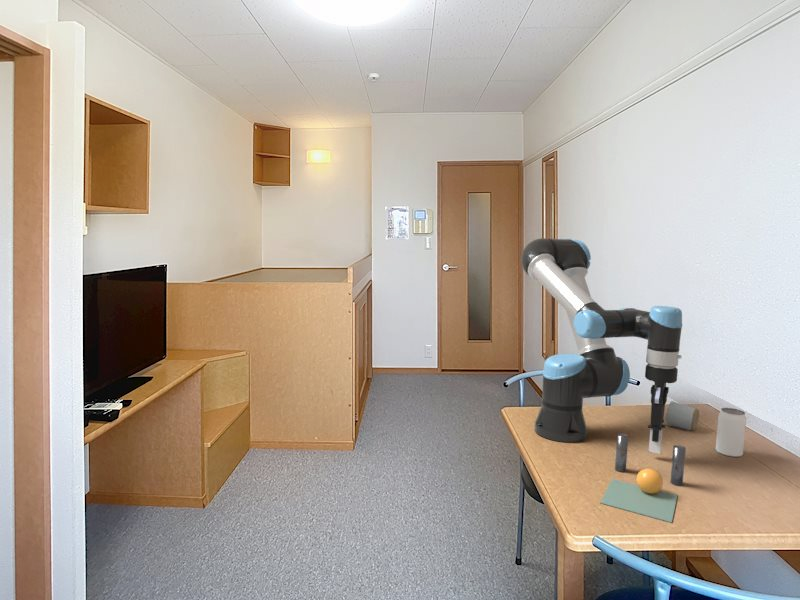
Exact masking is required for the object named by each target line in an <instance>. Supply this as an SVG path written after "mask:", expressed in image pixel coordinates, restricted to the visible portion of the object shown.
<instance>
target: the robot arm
mask: <svg viewBox="0 0 800 600" xmlns="http://www.w3.org/2000/svg"><path fill="white" fill-rule="evenodd" d="M520 257H521V258H520V262H521V266H522V269H523V271H524V272H525V273H526V275H528V277H529V278H530V279H531V280H533V281H538V282H539V283H540V285H542V287H543V288H544V289H545V290H546V291H547V293H549V294H550V295H551V296H552V297H553V298H554V299H555V301H556V302H558V304H560V306H561V307H562V308H563V309H564V310H566V314H567V317H568V321H569V324H570V328H571V331H572V334H573V337H574V341H575V344H576V347H577V351H578V353H577V354H575V353H568V354H567V353H561V354H560V353H558V354H554V355H551V356H549V357H547V358H546V360H545V361H544V363H543V364H544V366H543V370H542V375H543V376H542V377H543V378H542V393H541V394H542V395H541V406H540V409H539V411H538V414H537V416H536V419H535V420H534V421H535V422H534V426H533V427H534V429H533V430H534V433H536V434H537V435H539V436H540V437H543V439H544V438H545V439H547V440H551V441H556V442H564V443H578V442H582V441H585V440H586V439H587V437H588V426H587V423H586V420H585V417H584V416H585V415H584V412H583V403H584V402H583V401H584V399H588V398H589V399H590V398H600V397H605V398H606V397H608V398H609V397H612V396H618V395H620V394H622V393H624V392H625V391H626V389H627V388H628V384H629V383H630V381H631V371H630V368H629V365H628V362H627V361H626V360H625V359H624V358H622V357H620V356H617V355H616V352H615V350H614V348H613V347H612V346H610V345H608V344H607V342H606V339H607V338H608V339H609V338H610V339H611V338H640V339H642V340H643V339H644V340H647V345H646V346H647V347H646V357H645V363H647V364H645V372H644V373H645V374H644V377H645V379H647V380H648V381H650V382H654V384H652V385H651V386H650V394H651V395H650V403H651V407H650V424H649V425H647V429H649V443H648V452H650V453H654V454H658V455H660V454H661V452H662V450H661V449H662V438H663V429H666V425H667V424H664V422H665V420H664V419H665V418H664V417H665V408H666V403H667V400H668V394H669V392H670V391H669V390H670V387H669V386H667V384H674V383H676V382H677V380H678V368H677V367H678V365H679V360H680V359H681V360H682V354H679V353H680V345H681V336H682V329H683V310H682V309H680V308H678V307H675V306H667V305H654V306H651V307H650V309H649V310H650V311H647V310H642V309H636V308H633V307H622V308H619V309H608V310H607V309H605V308H603V307H602V306H601V305H600V304H598V302H597V301H595V300H594V299H593V297H592V295H591V292H590V290H589V287H588V284H587V280H586V276H587V275H588V271H589V268H590V266H591V259H592V256H591V252H590V249H589V248H588V246H587V245H586V244H585V243H584V242H583V241H581V240H578V239H573V238H545V237H544V238H542V237H541V238H536V239H534V240H532V241H530V242H529V243H527V244H526V246H524V248H523V250H522V252H521V256H520Z"/></svg>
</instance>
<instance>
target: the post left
mask: <svg viewBox="0 0 800 600" xmlns="http://www.w3.org/2000/svg"><path fill="white" fill-rule="evenodd" d="M629 438H630V437H629V435H627V434H624V433H617V436H616V449H615V460H614V461H615V462H614V470H615V471H616V472H619V473H626V471H627V461H628V450H629V449H628V448H629Z"/></svg>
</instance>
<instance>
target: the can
mask: <svg viewBox="0 0 800 600" xmlns="http://www.w3.org/2000/svg"><path fill="white" fill-rule="evenodd" d="M720 410H721V411H720V412H719V413H718V419H717V429H716V439H715V451H716V452H717V453H718V454H721V455H723V456H726V457H731V458H741V457H742V456H743V454H744V447H745V439H746V426H747V417H746V412H745V411H744V410H741V409H737V408H734V407H733V408H732V407H722V408H721V409H720Z"/></svg>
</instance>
